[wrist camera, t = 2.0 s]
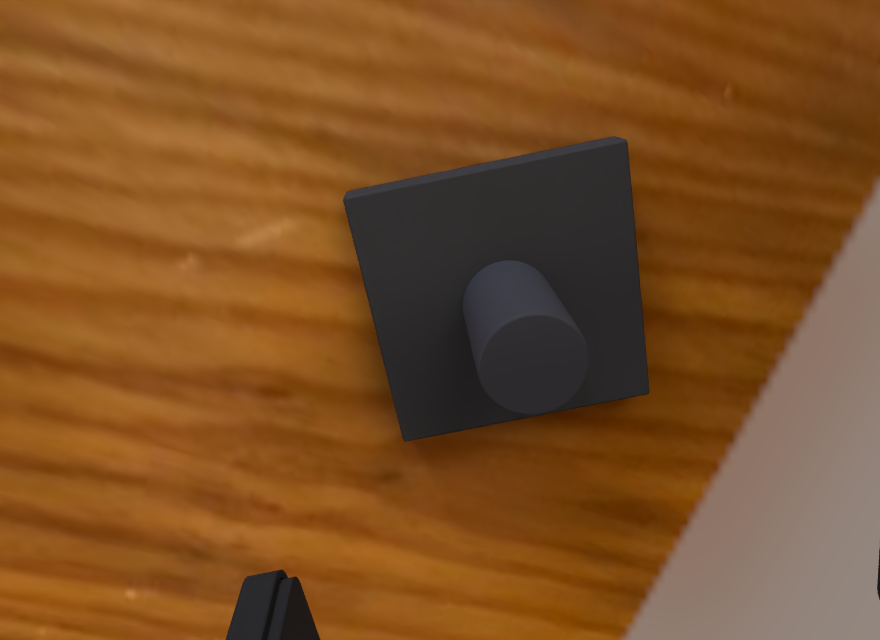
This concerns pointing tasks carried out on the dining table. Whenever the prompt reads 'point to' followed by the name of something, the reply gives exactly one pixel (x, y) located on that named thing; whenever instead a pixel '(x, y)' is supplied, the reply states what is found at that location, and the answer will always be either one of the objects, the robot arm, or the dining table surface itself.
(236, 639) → the robot arm
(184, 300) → the dining table surface
